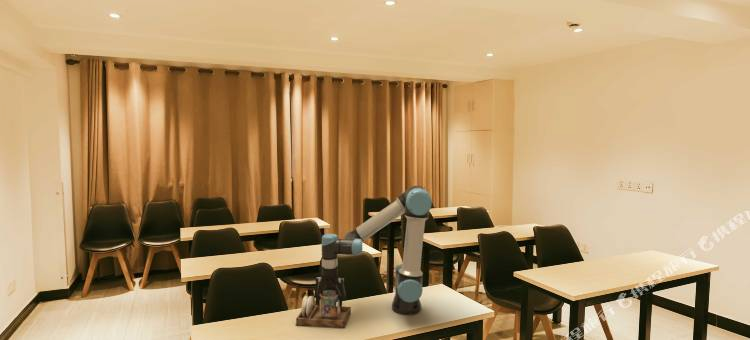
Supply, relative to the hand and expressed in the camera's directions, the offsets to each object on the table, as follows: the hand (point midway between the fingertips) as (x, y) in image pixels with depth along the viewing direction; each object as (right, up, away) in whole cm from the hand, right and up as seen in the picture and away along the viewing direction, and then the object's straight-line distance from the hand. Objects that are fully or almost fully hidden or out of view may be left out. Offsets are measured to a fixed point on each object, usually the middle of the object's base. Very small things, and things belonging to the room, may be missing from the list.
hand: (330, 312), depth 214 cm
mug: (0, -1, 0) cm, 1 cm away
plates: (-11, -3, +1) cm, 12 cm away
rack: (-3, -4, +1) cm, 5 cm away
